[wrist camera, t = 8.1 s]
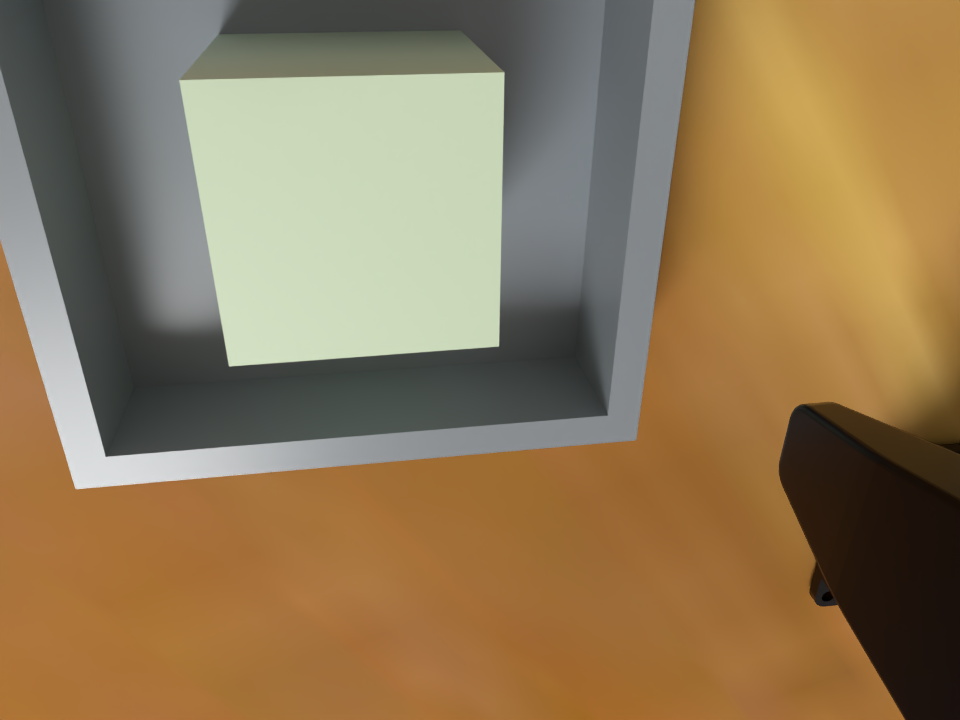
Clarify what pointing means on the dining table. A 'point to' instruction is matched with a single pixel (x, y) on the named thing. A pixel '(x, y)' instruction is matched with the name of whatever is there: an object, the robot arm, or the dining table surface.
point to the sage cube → (349, 191)
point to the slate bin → (343, 381)
